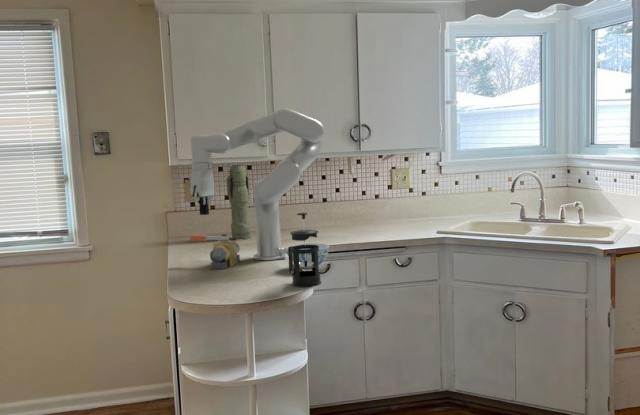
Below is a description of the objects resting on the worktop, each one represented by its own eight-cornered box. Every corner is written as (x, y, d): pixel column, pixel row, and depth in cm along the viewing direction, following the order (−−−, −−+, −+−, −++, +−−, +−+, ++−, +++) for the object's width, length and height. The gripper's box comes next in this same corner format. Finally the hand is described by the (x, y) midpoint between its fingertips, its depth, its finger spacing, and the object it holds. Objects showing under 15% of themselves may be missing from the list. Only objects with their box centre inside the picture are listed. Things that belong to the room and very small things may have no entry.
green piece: (225, 239, 307) (221, 166, 304) (244, 235, 316) (239, 164, 312) (238, 240, 302) (233, 166, 298) (256, 237, 311) (252, 164, 307)
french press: (328, 282, 208) (325, 211, 205) (310, 288, 200) (307, 215, 198) (300, 278, 215) (297, 210, 212) (282, 284, 207) (278, 213, 205)
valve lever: (230, 239, 244) (230, 233, 244) (226, 241, 241) (226, 235, 241) (194, 239, 249) (193, 233, 248) (189, 241, 245) (189, 235, 245)
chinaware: (294, 274, 223) (293, 252, 222) (284, 266, 237) (283, 245, 236) (335, 269, 227) (334, 248, 226) (323, 262, 241) (322, 242, 240)
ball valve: (242, 260, 251) (240, 238, 250) (225, 269, 236) (223, 245, 235) (226, 260, 253) (225, 238, 252) (208, 269, 238) (207, 245, 237)
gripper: (205, 166, 256) (207, 212, 258) (182, 168, 243) (184, 216, 245) (221, 166, 253) (223, 212, 255) (198, 168, 240) (200, 217, 242)
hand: (204, 214), depth 250 cm, fingers closed
